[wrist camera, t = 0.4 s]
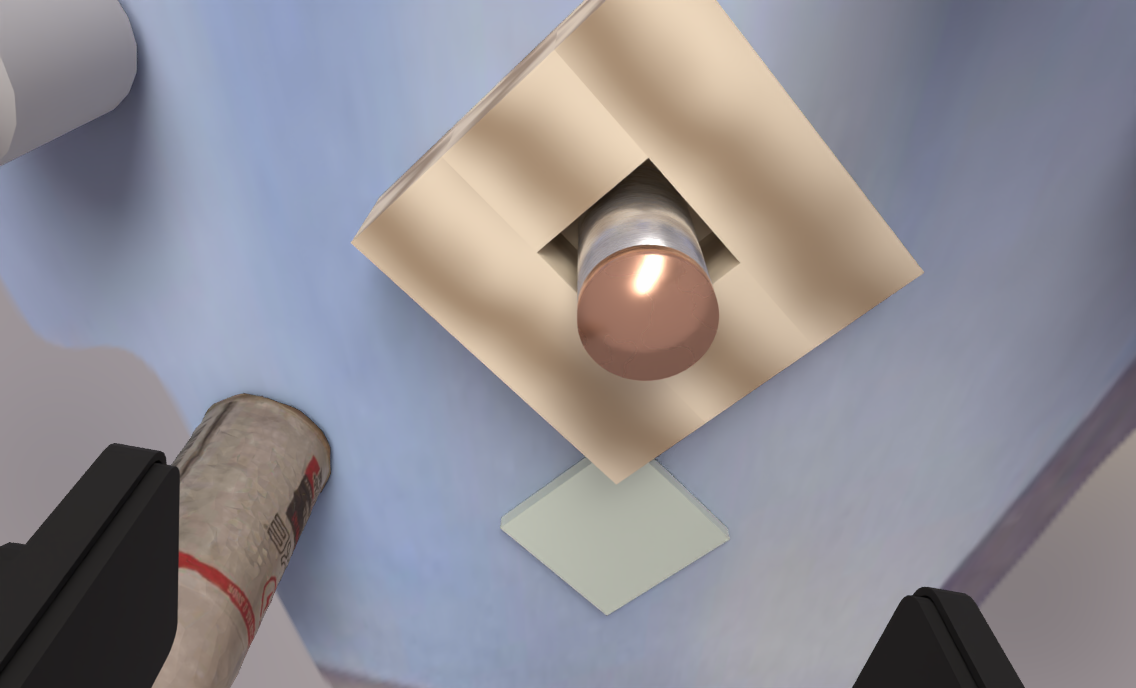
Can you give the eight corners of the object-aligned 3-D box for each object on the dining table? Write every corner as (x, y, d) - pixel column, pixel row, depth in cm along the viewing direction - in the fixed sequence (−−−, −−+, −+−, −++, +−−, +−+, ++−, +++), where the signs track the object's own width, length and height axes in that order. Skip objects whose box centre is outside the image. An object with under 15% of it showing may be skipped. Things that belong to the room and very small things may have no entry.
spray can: (291, 526, 53) (149, 846, 36) (171, 460, 51) (-46, 768, 33) (361, 440, 50) (241, 747, 32) (236, 366, 47) (33, 653, 30)
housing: (657, -70, 36) (669, -60, 31) (882, 223, 43) (924, 272, 37) (379, 197, 42) (350, 242, 37) (612, 419, 49) (616, 484, 43)
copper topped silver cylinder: (639, 141, 40) (658, 226, 30) (709, 221, 42) (747, 325, 32) (555, 213, 42) (547, 315, 32) (626, 287, 43) (638, 404, 34)
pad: (624, 429, 49) (624, 439, 48) (727, 528, 53) (729, 539, 52) (501, 517, 52) (500, 528, 51) (606, 604, 56) (606, 615, 55)
